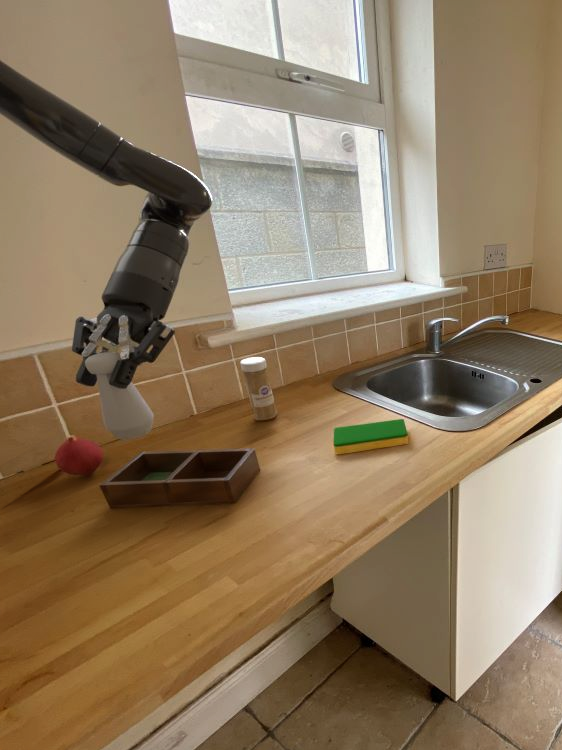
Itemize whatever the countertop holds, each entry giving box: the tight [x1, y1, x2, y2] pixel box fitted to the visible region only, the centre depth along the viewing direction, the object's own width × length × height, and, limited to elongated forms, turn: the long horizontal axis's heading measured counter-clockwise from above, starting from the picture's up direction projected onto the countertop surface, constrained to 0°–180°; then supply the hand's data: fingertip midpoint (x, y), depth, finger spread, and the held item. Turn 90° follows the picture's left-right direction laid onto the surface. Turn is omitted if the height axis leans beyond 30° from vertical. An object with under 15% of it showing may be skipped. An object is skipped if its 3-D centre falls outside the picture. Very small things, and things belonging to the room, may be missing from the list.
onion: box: [54, 435, 105, 477], centre depth 76 cm, size 6×6×8 cm
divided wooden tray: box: [99, 448, 261, 510], centre depth 75 cm, size 18×10×5 cm, turn 97°
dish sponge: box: [332, 418, 409, 455], centre depth 91 cm, size 7×14×2 cm, turn 111°
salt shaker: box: [85, 351, 155, 441], centre depth 67 cm, size 6×6×13 cm
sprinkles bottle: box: [239, 356, 278, 422], centre depth 96 cm, size 5×5×14 cm
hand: (101, 385), depth 64 cm, fingers closed on salt shaker, 4 cm apart
